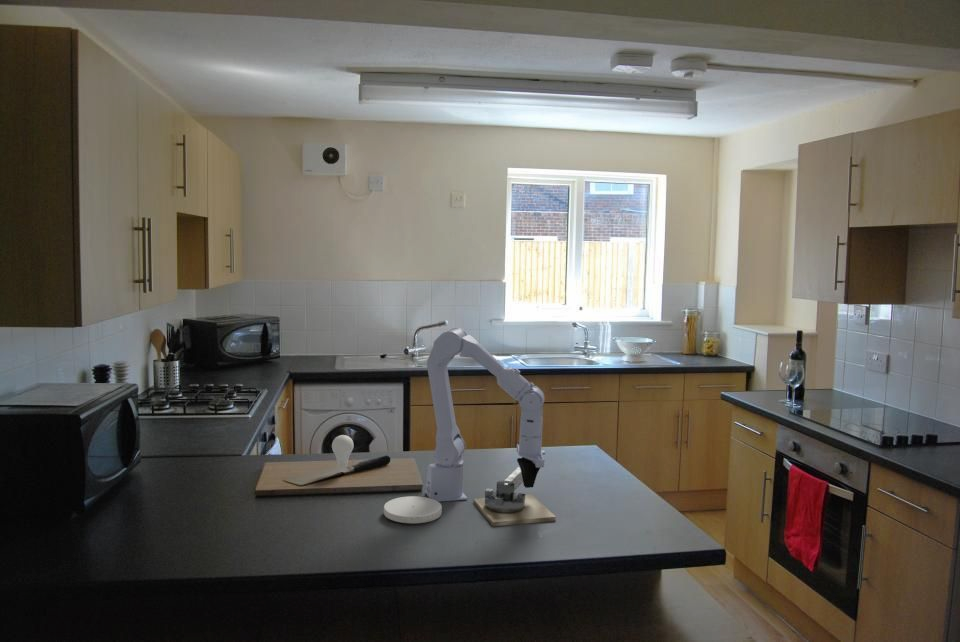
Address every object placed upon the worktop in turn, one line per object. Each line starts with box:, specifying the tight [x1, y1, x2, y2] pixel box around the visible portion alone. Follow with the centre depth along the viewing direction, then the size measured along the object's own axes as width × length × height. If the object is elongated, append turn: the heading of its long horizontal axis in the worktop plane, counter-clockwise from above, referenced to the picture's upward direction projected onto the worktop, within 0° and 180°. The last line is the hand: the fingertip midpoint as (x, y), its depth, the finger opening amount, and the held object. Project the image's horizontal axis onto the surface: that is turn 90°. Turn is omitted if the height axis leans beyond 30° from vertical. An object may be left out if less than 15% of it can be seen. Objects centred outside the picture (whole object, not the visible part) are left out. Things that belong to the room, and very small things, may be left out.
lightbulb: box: [331, 434, 355, 469], centre depth 201 cm, size 6×6×11 cm
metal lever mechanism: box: [484, 465, 526, 513], centre depth 180 cm, size 20×10×6 cm, turn 161°
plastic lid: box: [383, 495, 443, 524], centre depth 171 cm, size 14×14×2 cm
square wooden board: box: [473, 492, 557, 527], centre depth 176 cm, size 16×17×1 cm
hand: (528, 486), depth 181 cm, fingers closed
